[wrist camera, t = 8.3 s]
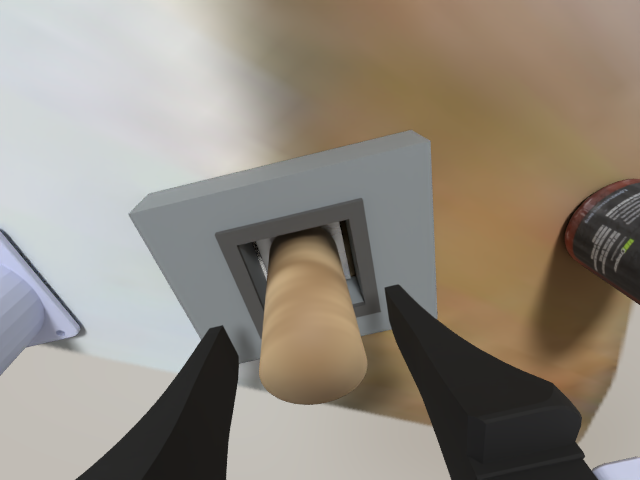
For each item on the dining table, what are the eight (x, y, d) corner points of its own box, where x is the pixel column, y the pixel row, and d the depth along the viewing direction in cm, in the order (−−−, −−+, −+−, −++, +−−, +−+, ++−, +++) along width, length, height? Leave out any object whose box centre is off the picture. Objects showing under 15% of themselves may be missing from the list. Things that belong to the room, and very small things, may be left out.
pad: (276, 289, 21) (275, 295, 20) (252, 225, 18) (251, 229, 18) (349, 272, 20) (350, 278, 20) (334, 205, 18) (336, 209, 17)
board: (224, 338, 22) (216, 372, 20) (148, 193, 17) (125, 216, 14) (422, 293, 22) (439, 322, 19) (411, 129, 16) (432, 142, 14)
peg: (280, 289, 20) (276, 413, 13) (260, 234, 18) (243, 346, 11) (343, 274, 20) (374, 391, 13) (330, 217, 18) (358, 320, 11)
